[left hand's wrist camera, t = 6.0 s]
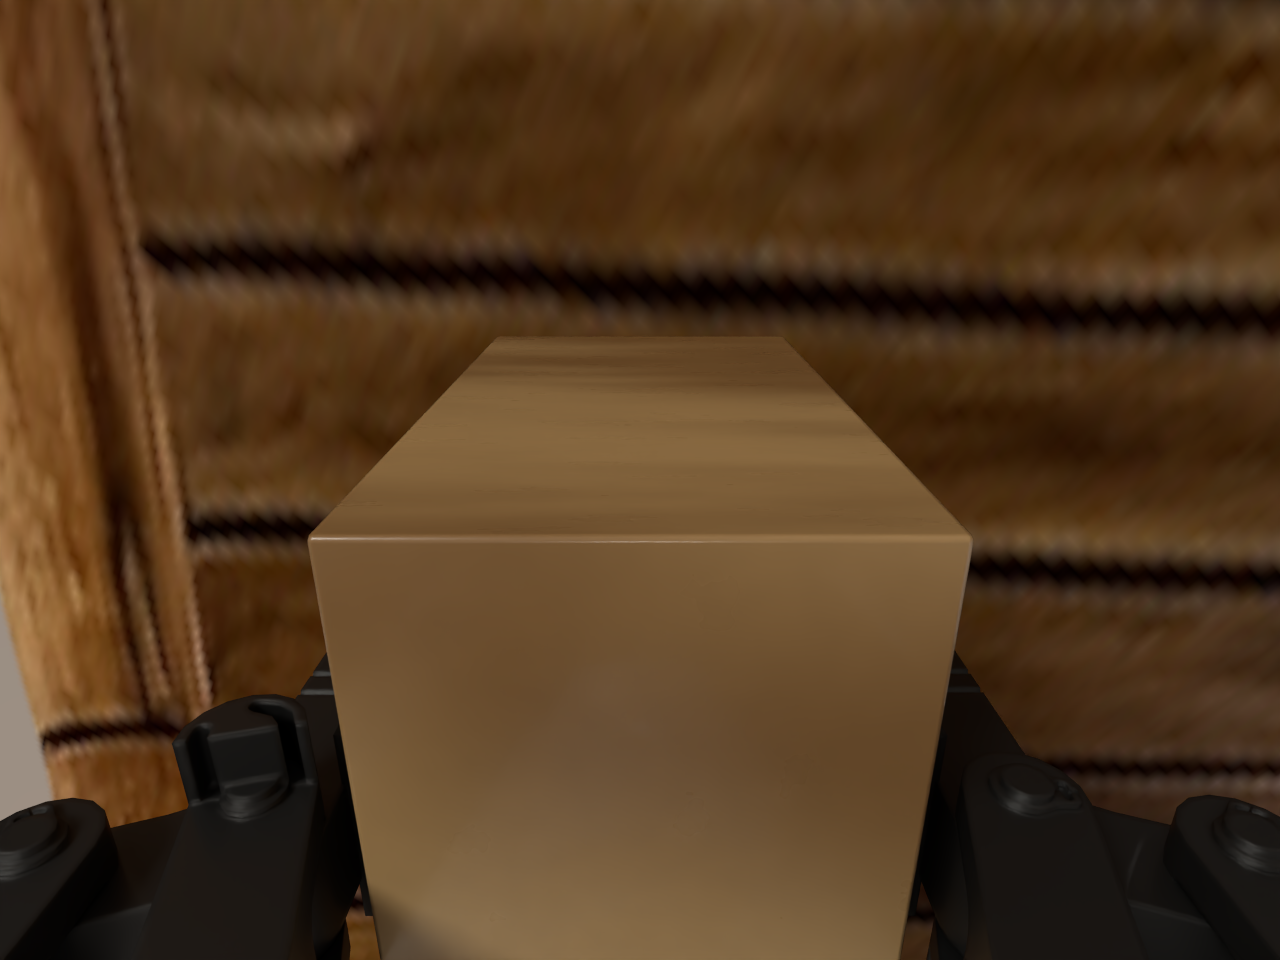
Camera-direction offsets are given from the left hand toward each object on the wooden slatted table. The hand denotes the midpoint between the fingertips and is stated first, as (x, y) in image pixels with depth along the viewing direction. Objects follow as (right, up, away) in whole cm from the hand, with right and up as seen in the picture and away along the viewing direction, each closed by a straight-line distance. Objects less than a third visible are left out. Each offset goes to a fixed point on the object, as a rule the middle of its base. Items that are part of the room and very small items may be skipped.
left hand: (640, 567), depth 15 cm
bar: (0, -7, +4) cm, 8 cm away
